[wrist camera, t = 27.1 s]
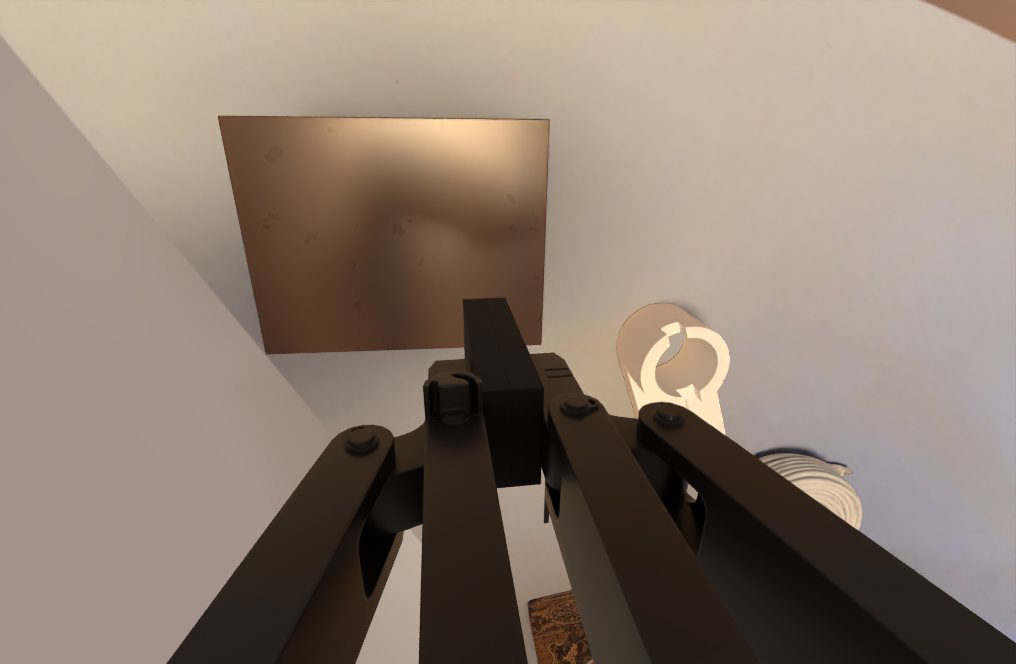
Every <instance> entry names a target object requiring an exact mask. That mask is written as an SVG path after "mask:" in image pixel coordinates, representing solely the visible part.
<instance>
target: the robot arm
mask: <svg viewBox="0 0 1016 664" xmlns="http://www.w3.org/2000/svg"><path fill="white" fill-rule="evenodd" d="M463 321H464V349H465V359H458V360H440V361H435V362H434V364H433V365H432V366H431V367H430V368H429V377H428V380H426V381H425V383H424V386H423V393H424V406H425V422H424V423H423V424H422V425H421V426H420V427H419V428H417V429H416V430H414V431H412V432H410V433H407V434H404V435H401V436H398V437H393V435H392V433H391V431H390V430H388V429H386V428H384V427H382V426H376V425H361V426H357V427H353V428H349V429H347V430H345V431H343V432H341V433H339V434H338V435H337V436H336V437H335V438H334V439H333V440H332V441H331V442H330V443H329V445H328V446H327V448H326V449H325V450H324V451H323V453H322V454H321V455H320V457H319V458H318V459H317V461H316V462H315V464H314V465H313V466H312V468H311V469H310V470H309V472H308V473H307V474H306V476H305V477H304V478H303V480H302V481H301V482H300V484H299V485H298V487H297V488H296V489H295V491H294V492H293V493H292V495H291V496H290V497H289V499H288V500H287V502H286V503H285V504H284V505H283V507H282V508H281V510H280V511H279V512H278V514H277V515H276V517H275V518H274V519H273V520H272V522H271V523H270V524H269V526H268V527H267V529H266V530H265V531H264V533H263V534H262V535H261V537H260V538H259V539H258V541H257V542H256V543H255V545H254V546H253V548H252V549H251V550H250V551H249V553H248V554H247V556H246V557H245V558H244V560H243V561H242V562H241V564H240V565H239V566H238V568H237V569H236V570H235V572H234V573H233V574H232V576H231V577H230V578H229V580H228V581H227V583H226V584H225V585H224V587H223V588H222V590H221V591H220V592H219V593H218V595H217V596H216V598H215V599H214V600H213V601H212V603H211V604H210V606H209V607H208V609H207V610H206V611H205V612H204V614H203V615H202V616H201V618H200V619H199V620H198V622H197V623H196V625H195V626H194V628H193V629H192V630H191V631H190V633H189V634H188V635H187V637H186V638H185V639H184V641H183V642H182V643H181V645H180V647H179V648H178V649H177V650H176V652H175V653H174V654H173V656H172V657H171V658H170V660H169V661H168V662H167V664H355V663H356V660H357V658H358V655H359V653H360V650H361V647H362V645H363V642H364V639H365V637H366V634H367V631H368V629H369V626H370V624H371V621H372V618H373V616H374V613H375V611H376V608H377V606H378V603H379V600H380V598H381V595H382V593H383V590H384V587H385V585H386V582H387V580H388V577H389V574H390V572H391V569H392V567H393V564H394V561H395V559H396V556H397V553H398V551H399V548H400V546H401V543H402V540H403V533H404V531H405V530H407V529H410V528H413V527H416V526H418V525H421V524H423V526H422V565H421V601H420V602H421V603H420V638H419V641H420V642H419V664H528V662H527V656H526V651H525V645H524V639H523V634H522V628H521V622H520V617H519V611H518V606H517V600H516V594H515V589H514V583H513V578H512V572H511V566H510V561H509V555H508V550H507V544H506V538H505V533H504V527H503V522H502V516H501V510H500V505H499V499H498V494H497V488H504V487H515V486H526V485H537V484H541V467H542V470H543V473H544V477H545V501H544V523H549V515H550V517H551V520H552V523H553V527H554V530H555V534H556V537H557V540H558V544H559V547H560V550H561V554H562V557H563V560H564V564H565V567H566V570H567V574H568V577H569V581H570V584H571V587H572V591H573V594H574V597H575V601H576V604H577V607H578V611H579V614H580V617H581V621H582V624H583V628H584V631H585V634H586V638H587V641H588V644H589V648H590V651H591V654H592V658H593V661H594V664H1016V643H1015V642H1014V641H1012V640H1011V639H1010V638H1008V637H1007V636H1005V635H1004V634H1003V633H1001V632H1000V631H998V630H997V629H996V628H994V627H993V626H991V625H990V624H989V623H987V622H986V621H984V620H983V619H982V618H980V617H979V616H977V615H976V614H975V613H973V612H972V611H970V610H969V609H968V608H966V607H965V606H963V605H962V604H961V603H959V602H958V601H956V600H955V599H954V598H952V597H951V596H949V595H948V594H947V593H945V592H944V591H942V590H941V589H940V588H938V587H937V586H935V585H934V584H933V583H931V582H930V581H928V580H927V579H926V578H924V577H923V576H921V575H920V574H919V573H917V572H916V571H914V570H913V569H912V568H910V567H909V566H907V565H906V564H905V563H903V562H902V561H900V560H899V559H898V558H896V557H895V556H893V555H892V554H891V553H889V552H888V551H886V550H885V549H884V548H882V547H881V546H879V545H878V544H877V543H875V542H874V541H872V540H871V539H870V538H868V537H867V536H865V535H864V534H863V533H861V532H860V531H858V530H857V529H856V528H854V527H853V526H851V525H850V524H849V523H847V522H846V521H844V520H843V519H842V518H840V517H839V516H837V515H836V514H835V513H833V512H832V511H830V510H829V509H828V508H826V507H825V506H823V505H822V504H821V503H819V502H818V501H816V500H815V499H814V498H812V497H811V496H810V495H808V494H807V493H805V492H804V491H803V490H801V489H800V488H798V487H797V486H796V485H794V484H793V483H791V482H790V481H789V480H787V479H786V478H784V477H783V476H782V475H780V474H779V473H777V472H776V471H775V470H773V469H772V468H770V467H769V466H768V465H766V464H765V463H763V462H762V461H761V460H759V459H758V458H756V457H755V456H754V455H752V454H751V453H749V452H748V451H747V450H745V449H744V448H742V447H741V446H740V445H738V444H737V443H735V442H734V441H733V440H731V439H730V438H728V437H727V436H726V435H724V434H723V433H721V432H720V431H719V430H717V429H716V428H714V427H713V426H712V425H710V424H709V423H707V422H706V421H705V420H703V419H702V418H700V417H699V416H698V415H696V414H695V413H693V412H692V411H690V410H688V409H687V408H685V407H683V406H680V405H677V404H674V403H671V402H653V403H649V404H646V405H644V406H642V407H641V409H640V410H639V414H638V419H635V418H626V417H618V416H613V415H609V414H608V413H607V411H606V409H605V408H604V406H603V405H602V404H601V403H600V402H599V401H598V400H597V399H595V398H593V397H590V396H587V395H584V393H583V392H582V390H581V388H580V386H579V385H578V383H577V381H576V379H575V378H574V377H573V374H572V372H571V371H570V370H569V367H568V365H567V364H566V362H565V360H564V359H562V358H561V357H559V356H558V355H556V354H555V353H539V354H530V353H529V351H528V349H527V347H526V344H525V342H524V340H523V337H522V335H521V333H520V330H519V328H518V326H517V323H516V321H515V319H514V316H513V314H512V312H511V309H510V307H509V305H508V302H507V300H506V298H505V297H503V298H479V299H463ZM688 484H690V485H691V486H692V487H693V488H694V489H695V490H696V491H697V492H698V496H697V499H696V500H695V499H693V498H692V497H691V496H690V495H689V494H688V493H687V487H688Z"/></svg>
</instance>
